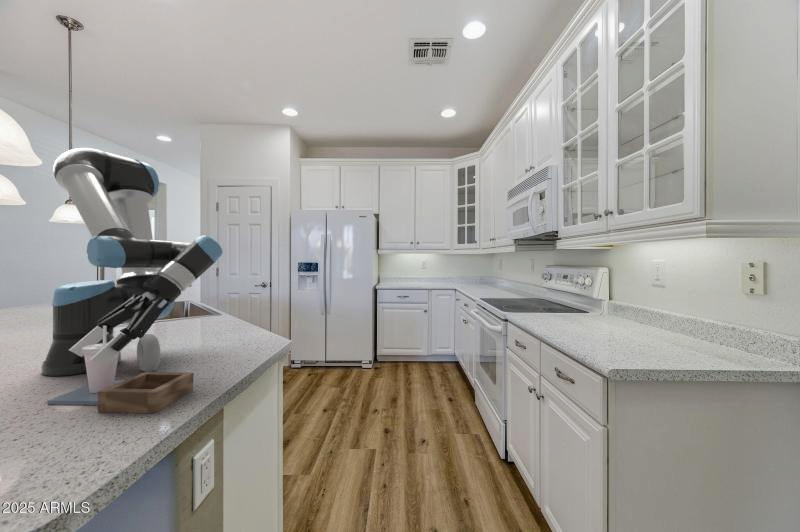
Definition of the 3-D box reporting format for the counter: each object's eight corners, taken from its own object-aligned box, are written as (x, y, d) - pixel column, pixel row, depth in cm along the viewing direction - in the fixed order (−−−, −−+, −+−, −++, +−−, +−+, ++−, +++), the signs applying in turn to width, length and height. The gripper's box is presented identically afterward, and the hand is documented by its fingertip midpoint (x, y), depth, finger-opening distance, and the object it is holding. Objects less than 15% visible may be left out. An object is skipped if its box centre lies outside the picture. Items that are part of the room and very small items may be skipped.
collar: (144, 389, 70) (145, 371, 70) (193, 390, 70) (193, 372, 70) (97, 412, 59) (98, 391, 59) (155, 413, 59) (155, 392, 59)
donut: (134, 369, 83) (135, 332, 83) (150, 366, 86) (151, 330, 86) (145, 377, 77) (146, 338, 77) (162, 374, 80) (162, 335, 80)
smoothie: (96, 396, 64) (97, 328, 64) (72, 394, 65) (73, 327, 65) (128, 385, 70) (129, 323, 70) (106, 383, 71) (107, 322, 72)
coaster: (100, 383, 73) (100, 380, 73) (146, 384, 73) (146, 380, 73) (47, 404, 62) (47, 400, 62) (102, 405, 62) (102, 401, 62)
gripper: (206, 295, 75) (125, 377, 62) (158, 290, 87) (82, 358, 74) (182, 274, 70) (89, 358, 57) (135, 271, 82) (49, 340, 69)
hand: (85, 358), depth 65 cm, fingers open, 12 cm apart
